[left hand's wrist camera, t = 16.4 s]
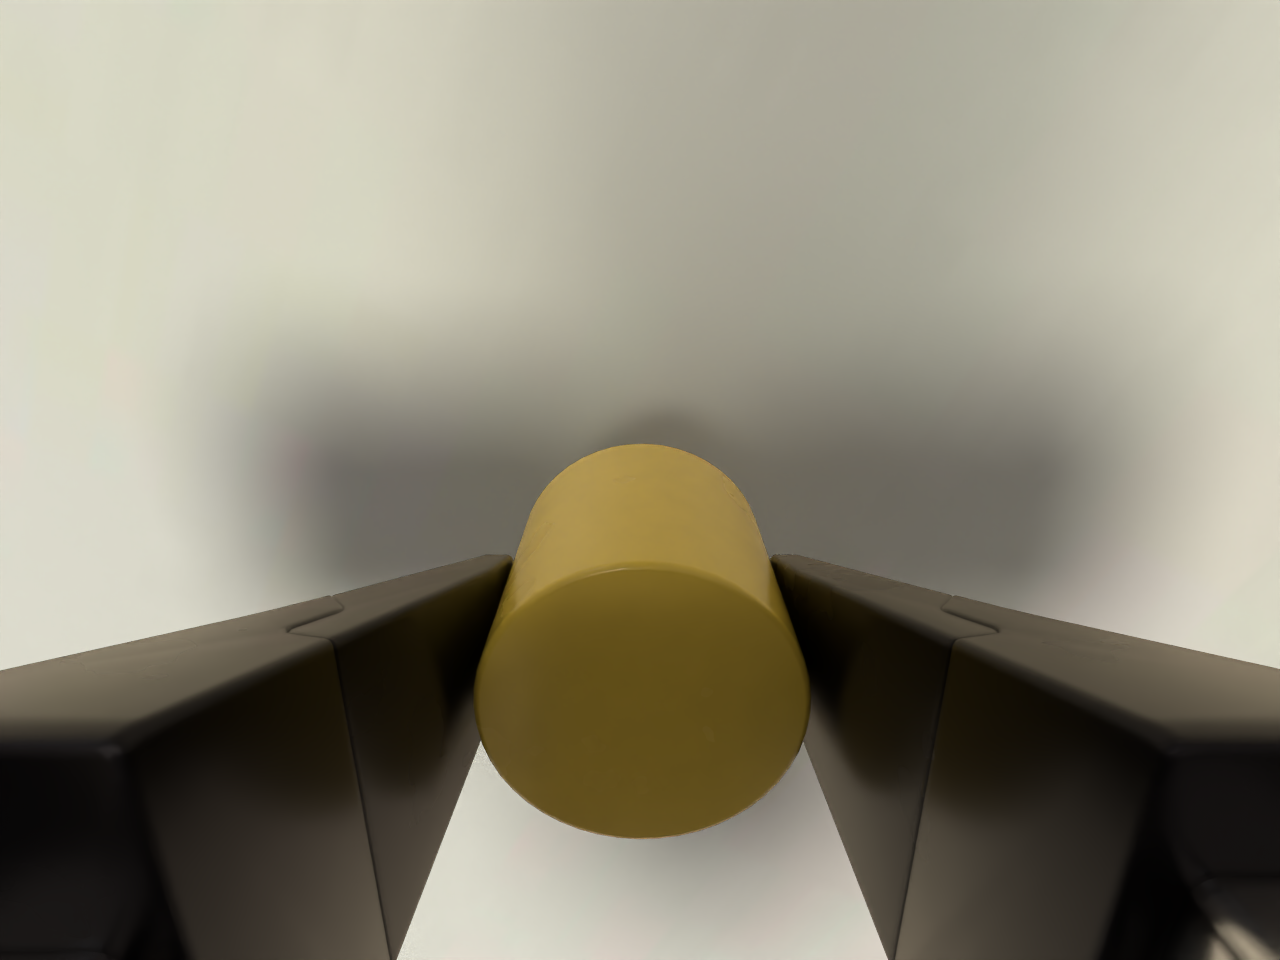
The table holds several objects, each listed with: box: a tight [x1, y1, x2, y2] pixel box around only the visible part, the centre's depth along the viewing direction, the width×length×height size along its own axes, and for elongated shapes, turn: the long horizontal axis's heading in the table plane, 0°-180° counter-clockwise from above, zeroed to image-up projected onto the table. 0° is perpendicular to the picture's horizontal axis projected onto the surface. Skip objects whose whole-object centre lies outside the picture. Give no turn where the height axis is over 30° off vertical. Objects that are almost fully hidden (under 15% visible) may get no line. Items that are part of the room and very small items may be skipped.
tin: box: [473, 444, 811, 839], centre depth 10 cm, size 4×4×4 cm
